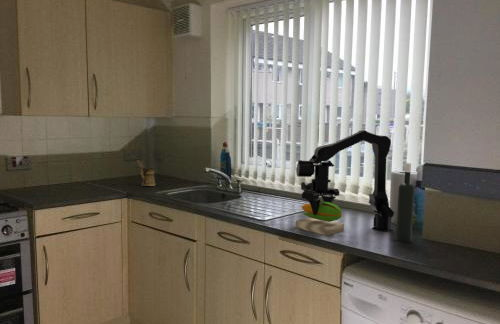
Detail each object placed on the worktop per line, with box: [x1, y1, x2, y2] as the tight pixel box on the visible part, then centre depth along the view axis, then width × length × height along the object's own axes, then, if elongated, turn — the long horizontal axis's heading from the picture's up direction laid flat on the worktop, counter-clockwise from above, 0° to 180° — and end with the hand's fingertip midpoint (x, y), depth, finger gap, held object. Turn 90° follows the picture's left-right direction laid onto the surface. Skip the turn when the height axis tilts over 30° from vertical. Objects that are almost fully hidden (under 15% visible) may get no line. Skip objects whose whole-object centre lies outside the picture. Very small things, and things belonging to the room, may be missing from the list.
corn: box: [301, 200, 343, 222], centre depth 183 cm, size 7×8×20 cm
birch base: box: [294, 217, 345, 236], centre depth 184 cm, size 16×12×3 cm
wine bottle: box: [395, 162, 415, 243], centre depth 169 cm, size 6×6×30 cm
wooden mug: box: [136, 159, 157, 187], centre depth 283 cm, size 9×14×18 cm, turn 141°
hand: (320, 214), depth 183 cm, fingers closed on corn, 7 cm apart
